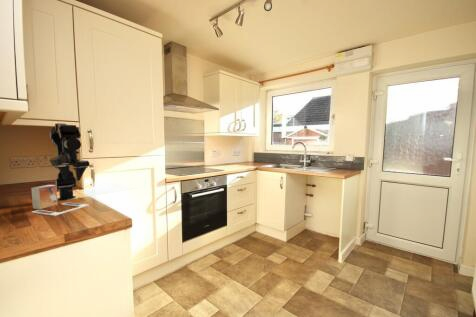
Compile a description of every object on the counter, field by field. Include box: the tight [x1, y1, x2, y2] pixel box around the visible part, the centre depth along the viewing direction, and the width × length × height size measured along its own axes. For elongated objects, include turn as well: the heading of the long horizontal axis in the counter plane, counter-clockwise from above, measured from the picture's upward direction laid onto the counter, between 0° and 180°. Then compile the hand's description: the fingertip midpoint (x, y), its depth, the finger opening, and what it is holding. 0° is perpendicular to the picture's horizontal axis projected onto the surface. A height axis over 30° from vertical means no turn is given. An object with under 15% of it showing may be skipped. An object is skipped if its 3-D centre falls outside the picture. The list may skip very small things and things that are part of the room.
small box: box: [30, 184, 58, 210], centre depth 110 cm, size 8×6×10 cm
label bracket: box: [30, 202, 90, 217], centre depth 107 cm, size 16×16×1 cm
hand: (72, 180), depth 112 cm, fingers open, 9 cm apart
